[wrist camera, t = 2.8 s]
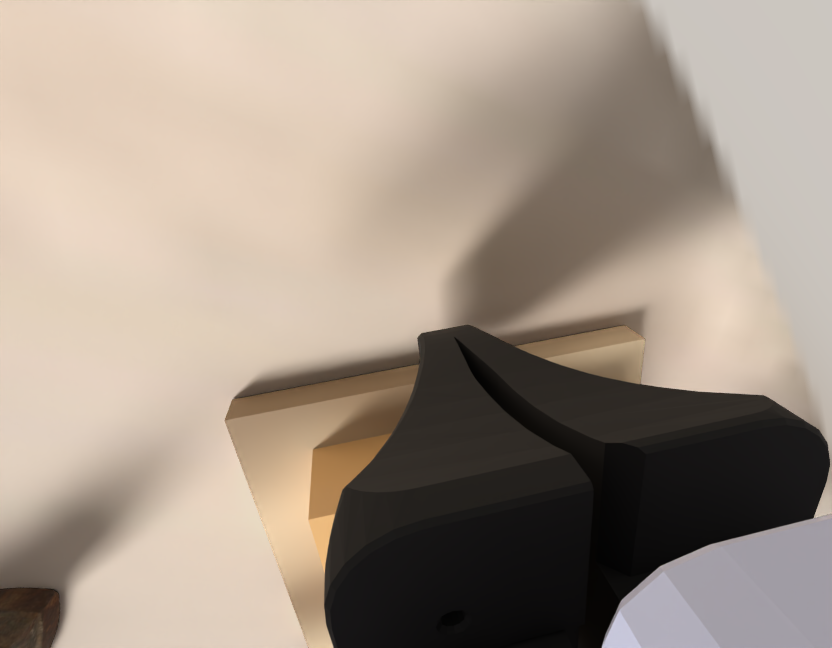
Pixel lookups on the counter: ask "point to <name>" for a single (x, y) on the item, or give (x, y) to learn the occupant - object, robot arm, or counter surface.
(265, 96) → the counter surface
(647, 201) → the counter surface
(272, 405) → the board
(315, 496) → the wooden block
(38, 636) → the clothes iron
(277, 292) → the counter surface
